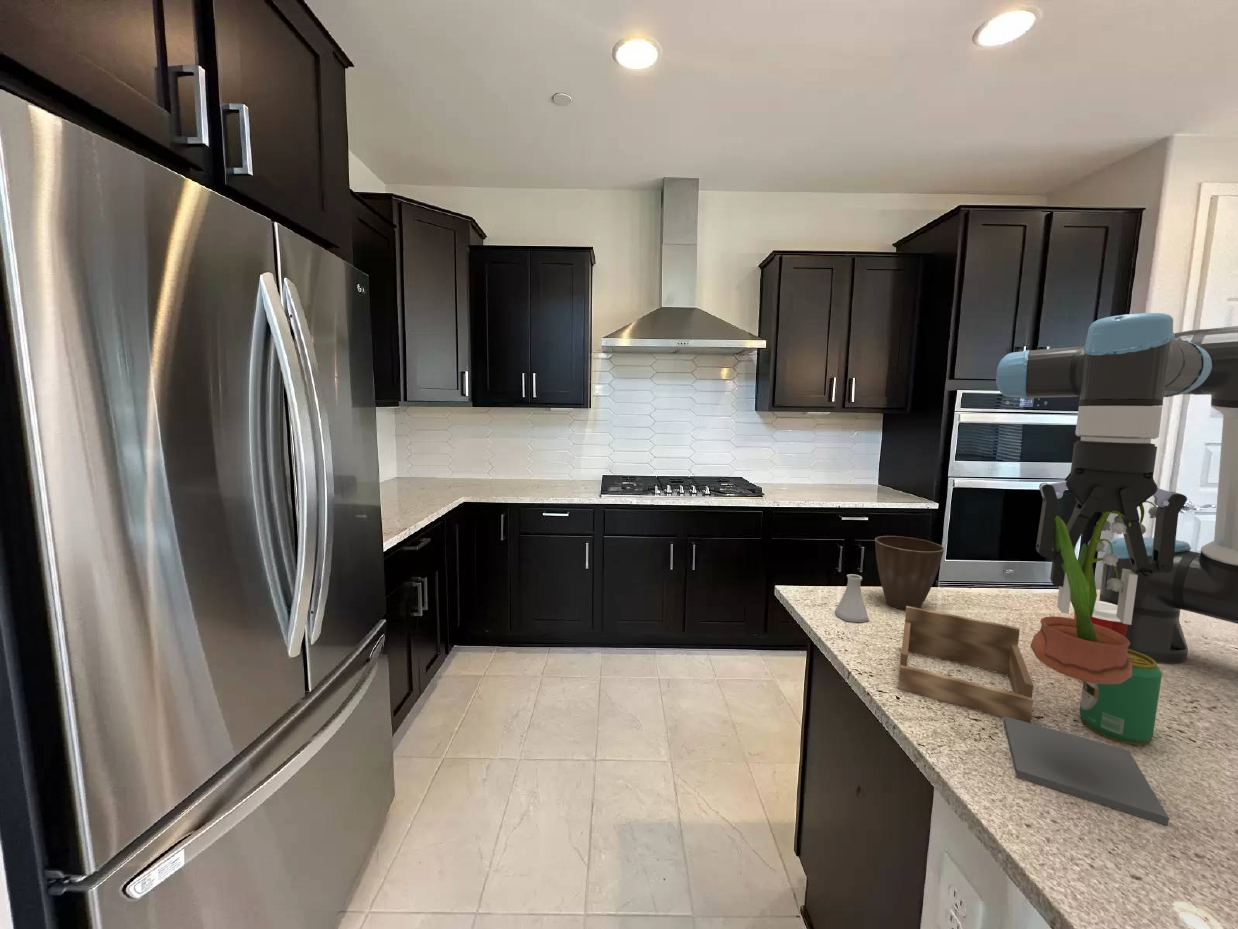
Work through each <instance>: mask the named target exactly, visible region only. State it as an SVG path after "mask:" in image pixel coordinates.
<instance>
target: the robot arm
mask: <svg viewBox="0 0 1238 929" xmlns="http://www.w3.org/2000/svg"><path fill="white" fill-rule="evenodd" d="M995 374H996V378H995V382H996V387H997V389H998V391H999V393H1000V394H1001V395H1003V396H1004V397H1007V398H1019V399H1020V398H1021V399H1028V398H1029V399H1031V398H1032V399H1033V398H1034V399H1036V398H1073V397H1079V401H1078V411H1077V418H1076V426H1075V432H1074V433H1075V434H1074V435H1076V437H1080V440H1076V442H1073V450H1072V458H1071V466H1070V471H1069V473H1068V475H1067V476H1066V477H1065V479H1064V480H1061V481H1057V482H1050V483H1048V482H1041V483H1040V484H1039V486H1038V487H1039V491H1040V494H1041V497H1042V504H1041V510H1040V511H1041V512H1040V517H1039V523H1038V524H1039V525H1038V529H1037V530H1038V531H1037V537H1036V544H1035V549H1036V552H1037V553H1038V554H1039V555H1040V556H1041V557H1043V558H1046V559H1049V560H1050V561H1051V570H1050V576H1049V579H1050V582H1051V584H1052V585H1053V586H1055V587H1058V593H1057V594H1058V595H1057V604H1056V607H1057V609H1058V610H1059V612H1060V613H1062V614H1067V615H1069V614H1070V607H1071V601H1070V599H1071V597H1070V586H1069V583H1068V578H1067V574H1066V573H1065V576H1064V571H1063V568H1062V565H1061V564H1064V563H1063V561H1064V560H1063V558H1062V555H1061V549H1060V550H1059V551H1058V552H1056V551H1055V548H1054V549H1053V548H1052V546H1053V542H1054V539H1053V534H1054V528H1055V518H1056V516H1057V515H1058V514H1057V513H1058V507H1059V506H1058V505H1059V501H1058V499H1061V498H1063V495H1064V492H1065V491H1066V490H1067V491H1068V492H1069V493H1070V494H1071V495H1072V496H1073V497H1074V499H1075V500H1076V504H1075V506H1074V508H1073V510H1072V511H1073V512H1072V514H1071V517H1070V518H1069V520H1068V522H1067V524H1066V527H1067V530H1068V533H1069V536H1070V539H1071V542H1072V546H1073V549H1074V550H1075V548H1076V546H1077V544H1078V543H1079V540H1080V538H1081V537H1082V534H1083V532H1084V530H1085V528H1086V527H1087V524H1088V523H1089V521H1090V519H1092V517H1094V516H1093V515H1094V514H1095V513H1102V512H1106V511H1109V512H1112V511H1119V512H1120V513H1121V514H1123V515H1124V517H1123V516H1121V517H1122V518H1123V522H1124V525H1125V526H1126V528H1127V529H1126V533H1127V534H1123V533H1122V535H1123V537H1115V538H1113V539H1111V540H1109V541H1110V542H1111V543H1112V547H1113V555H1115V556H1116V557H1117V558H1118V562H1117V563H1116V565H1117V566H1116V569H1117V572H1118V579H1120V580H1121V581H1122V582H1123V584H1124V587H1123V589H1122V591H1123V593H1122V592H1119V590H1118V592H1116V591H1112V590H1111V589H1106V587H1107V581H1108V580H1109V579H1112V578H1117V576H1116V572H1115V569H1114V567H1113V565H1107V563H1106V564H1104V563H1102V573H1101V574H1102V575H1101V580H1100V581H1101V582H1100V591H1099V599H1098V601H1103V602H1107V603H1111V604H1115V605H1118V607H1117V614H1116V616H1117V618H1118V619H1119V620H1120V621H1121V622H1122V623H1123V624H1128V626H1127V631H1126V635H1125V637H1126V638H1127V639H1128V640H1129V641H1130V645H1129V647H1128V649H1129V650H1132V651H1136V652H1138V653H1141V654H1144V655H1146V656H1148V657H1150V658H1152V659H1153V660H1155V661H1156V663H1163V664H1182V663H1183V664H1184V663H1185V662H1187V660H1188V653H1189V648H1188V644H1187V641H1186V638H1185V634H1184V631H1183V629H1182V624H1181V622H1180V616H1181V610H1183V611H1186V612H1191V613H1194V614H1199V615H1201V616H1206V617H1210V618H1212V619H1216V620H1220V621H1224V622H1229V623H1232V624H1236V625H1238V325H1234V326H1233V325H1232V326H1226V327H1215V328H1207V329H1206V328H1205V329H1204V328H1203V329H1192V330H1186V331H1180V332H1174V319H1173V316H1171V315H1169V314H1167V313H1164V312H1163V313H1161V312H1142V313H1141V312H1140V313H1130V314H1129V313H1128V314H1120V315H1113V316H1106V317H1103V318H1099V319H1097V320H1095V321H1093V322H1092V323H1091V324H1090V325H1089V327H1088V331H1087V336H1086V339H1085V345H1083V346H1069V347H1068V346H1067V347H1054V348H1045V349H1035V350H1034V349H1033V350H1030V349H1027V350H1026V349H1025V350H1023V351H1015V352H1014V351H1013V352H1010V353H1007V354H1006V355H1005V356H1004V357H1003V358H1001V360H1000V361H999V363H998V365H997V369H996V373H995ZM1180 395H1194V396H1196V395H1198V396H1199V395H1200V396H1201V395H1203V396H1205V395H1207V396H1209V395H1210V407H1211V408H1213V409H1214V410H1216V411H1218V412H1219V413H1221V415H1222V416H1223V418H1222V429H1221V430H1222V431H1221V440H1220V441H1221V442H1220V443H1221V444H1220V457H1219V470H1218V484H1217V496H1216V511H1215V524H1214V537H1213V538H1214V539H1213V540H1212V541H1210V542H1208V543H1206V544H1204V545H1202V546H1201V548H1200V552H1197V551H1193V550H1192V547H1191V546H1190V543H1189V542H1186V541H1184V540H1183V541H1181V540H1177V539H1176V538H1177V532H1178V531H1177V530H1178V520H1179V513H1180V512H1181V510H1182V509H1183V508H1184V506H1185V504H1186V503H1187V501H1188V497H1187V495H1184V494H1182V493H1179V492H1176V491H1168V490H1165V489H1162V488H1159V487H1158V484H1157V483H1156V482H1155V480H1154V474H1155V466H1156V457H1157V452H1158V446H1156V444H1155V443H1152V440H1156V439H1158V438H1159V437H1160V429H1161V421H1162V414H1163V413H1162V412H1163V407H1164V406H1163V405H1164V398H1170V397H1174V396H1180ZM1151 497H1153V498H1154V502H1153V504H1154V505H1155V506H1156V507H1158V508H1157V512H1156V518H1155V521H1154V522H1155V523H1154V532H1153V537H1143V535H1144V534H1143V535H1142V531H1141V527H1140V518H1141V517H1140V515H1139V510H1138V508H1139V506H1140V505H1141V504H1145V503H1146V502H1145V501H1148V500H1149V499H1150V498H1151ZM1116 513H1118V512H1116ZM1111 514H1114V512H1112V513H1111ZM1117 515H1118V514H1116V516H1117ZM1129 523H1131V526H1130V527H1129ZM1105 549H1106V550H1105V551H1106V552H1104V553H1105V554H1104V556H1105V555H1106V554H1111V547H1110V544H1109V543H1108V542H1107V544H1106V548H1105ZM1191 550H1192V551H1191Z"/></svg>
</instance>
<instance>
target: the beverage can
mask: <svg viewBox="0 0 1238 929" xmlns="http://www.w3.org/2000/svg"><path fill="white" fill-rule="evenodd" d="M1127 654H1128V656H1129V659H1130V661H1131V663H1132V676H1131V677H1130V678H1129V679H1127V680H1126V681H1124V682H1122V683H1120V684H1096V683H1090V682H1086V681H1082V689H1081V695H1080V696H1081V698H1080V704H1079V712H1078V713H1079V715H1080V716H1081V718H1082V722H1083V723H1084V725H1085V726H1087V727H1088V728H1089V729H1090V730H1092V731H1093V732H1096V733H1097V734H1099V735H1101V736H1103V737H1106V738H1108V739H1111V740H1113V739H1114V741H1116V740H1117V742H1120V743H1125V744H1129V745H1136V746H1139V745H1140V746H1141V745H1145V743H1146V744H1147V743H1148V741H1149V740H1151V739H1152V738H1153V737H1154V731H1155V724H1156V718H1157V717H1156V716H1157V712H1158V704H1159V696H1160V689H1161V683H1162V682H1161V681H1162V677H1163V674H1162V671H1161V670H1160V668H1159V667H1158V662H1156V661H1155V660H1153V659H1152V658H1150V657H1148V656H1146V655H1144V654H1141V653H1138V652H1136V651H1132V650H1129V649H1127Z"/></svg>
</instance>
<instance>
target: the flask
mask: <svg viewBox="0 0 1238 929" xmlns="http://www.w3.org/2000/svg"><path fill="white" fill-rule="evenodd" d="M846 577H847V585H846V587H845V590H844V593H843V595H842V597H841V599H840V601H839V603H838V605H836V607H835V610H834V613H835V615H836V617H837V618H839V619H842V620H844V621H846V622H850V623H851V622H852V623H861V624H862V623H865V622H869V621H870V618H869V615H868V612H867V610H866V606H865V603H864V599H863V595H862V589H861V582H862V581H863V577H862V576H861V575H858V574H852V573H850V574H846Z"/></svg>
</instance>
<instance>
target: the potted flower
mask: <svg viewBox="0 0 1238 929" xmlns="http://www.w3.org/2000/svg"><path fill="white" fill-rule="evenodd" d="M1144 503H1149V504H1151V505H1153V506H1152V507H1150V508H1149V509H1148V511H1147V512H1148V514H1149V519H1154V518H1155V519H1156V512H1157V508H1158V506H1157V505H1156V504H1155V503H1154V502H1152V501H1149V500H1146V501H1145V502H1144ZM1144 503H1142V504H1141V505H1140V506H1138V508H1139V510H1140V517H1139V518H1140V521H1139V523H1140V527H1141V531H1142V535H1144V534H1146V531H1147V528H1146V526H1145V525H1144V524H1142V523H1143V522H1144V517H1145V506H1144ZM1112 512H1114V513H1112ZM1112 512H1109V511H1106V512H1101V515H1100V518H1099V520H1098V521H1097V522H1096V525H1095V526H1094V527H1093V532H1092V535H1091V538H1090V540H1089V541H1088V542H1087V544H1086V542H1084V543H1083V544H1082V546H1081V549H1080V551H1079V554H1078V557H1077V555H1076V552H1075V548H1074V549H1073V546H1072V542H1071V539H1070V536H1069V533H1068V530H1067V527H1066V526H1067V524H1066V523H1065V521H1063V519H1062V518H1061V517H1060V516H1058V514H1057V515H1056V518H1055V528H1054V534H1053V546H1054V550H1055V551H1056V552H1058V551H1059V550H1060V549H1061V555H1062V558H1063V560H1064V561H1063V563H1064V564H1061V565H1062V568H1063V571H1064V576H1065V573H1066V574H1067V578H1068V583H1069V586H1070V597H1071V599H1070V604H1071V605H1072V606H1073V608H1074V610H1075V613H1076V619H1074V618H1071V617H1065V616H1056V615H1055V616H1054V615H1051V616H1050V615H1049V616H1045V617H1042V618H1040V624H1041V625H1040V626H1041V627H1040V628H1039V631H1037V632H1036V633H1035V634H1033V637H1032V640H1031V643H1030V649H1031V650H1032V652H1033V655H1034V656H1035V657H1036V659H1037V660H1039V661H1040V662H1041V663H1042V664H1044V665H1045V666H1046V667H1048V668H1049V669H1051V670H1053V671H1055V672H1057V673H1059V674H1062V675H1065V676H1067V677H1070V678H1072V679H1076V680H1079V681H1081V680H1082V681H1081V682H1083V681H1086V682H1090V683H1096V684H1120V683H1122V682H1124V681H1126V680H1127V679H1129V678H1130V677H1131V676H1132V663H1131V661H1130V659H1129V656H1128V654H1127V649H1128V647H1129V645H1130V641H1129V640H1128V639H1127V638H1126V637H1124V636H1123V635H1121V634H1119V633H1117V632H1115V631H1113V630H1110V629H1108V628H1105V627H1102V626H1099V625H1096V624H1093V623H1092V621H1091V619H1090V618H1091V617H1092V616H1093V611H1094V606H1095V602H1096V600H1097V598H1098V593H1097V585H1096V580H1095V579H1096V578H1095V573H1094V572H1095V571H1094V566H1093V565H1094V564H1093V563H1097V562H1101V561H1102V562H1101V564H1106V563H1107V565H1113V567H1114V569H1115V572H1116V576H1117V578H1112V579H1109V580H1108V581H1107V587H1106V589H1111V590H1112V591H1116V592H1118V590H1119V592H1122V593H1123V591H1122V589H1123V587H1124V584H1123V582H1122V581H1121V580H1120V579H1118V572H1117V569H1116V566H1117V565H1116V563H1117V562H1118V558H1117V557H1116V556H1115V555H1113V547H1112V543H1111V542H1110V541H1111V540H1108V539H1106V538H1100V537H1101V535H1102V532H1103V531H1105V532H1106V531H1111V532H1110V533H1111V534H1116V535H1123V534H1127V533H1126V529H1127V528H1126V526H1125V525H1124V522H1123V518H1122V517H1121V516H1123V517H1124V515H1123V514H1121V513H1120V512H1119V511H1112ZM1116 512H1118V513H1116ZM1111 514H1113V515H1115V514H1116V516H1115V517H1114V519H1113V523H1111V522H1110V521H1109V520H1108V518H1109V516H1110V515H1111ZM1117 514H1118V515H1117ZM1130 526H1131V523H1129V527H1130ZM1104 542H1107V544H1108V543H1109V544H1110V547H1111V554H1106V555H1105V554H1104V555H1103V556H1102V557H1096V558H1095V556H1096V552H1097V553H1098V552H1101V553H1102V552H1103V553H1106V550H1104V548H1105V547H1106V546H1105V543H1104ZM1074 610H1073V611H1074Z"/></svg>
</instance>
